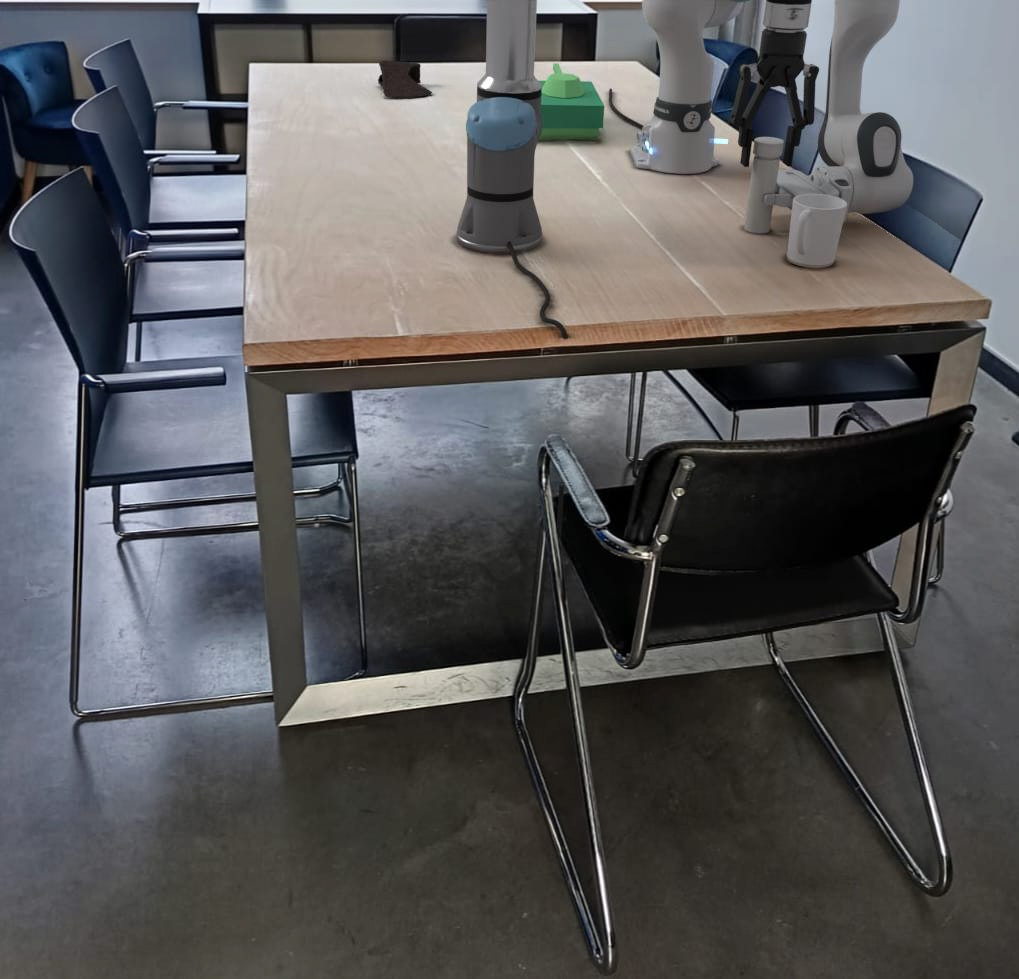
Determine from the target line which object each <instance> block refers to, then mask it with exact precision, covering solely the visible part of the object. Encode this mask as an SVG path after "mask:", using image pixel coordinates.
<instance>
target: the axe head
mask: <svg viewBox="0 0 1019 979" xmlns="http://www.w3.org/2000/svg"><path fill="white" fill-rule="evenodd" d="M378 66H379V68H380V72H381V74H379V75H378V79H377V84H378V85H379V86H380V87H381V88H382V89H383V95H384V96H385V97H388V98H394V99H395V98H396V99H403V98H405V99H406V98H407V99H411V98H418V97H425V96H429V95H432V94H433V91H431V90H430V89H428V88H427V87H425V86H422V85H421V84H422V82H421V63H419V62H410V61H408V62H407V61H397V60H388V59H387V60H380V61H379V62H378Z"/></svg>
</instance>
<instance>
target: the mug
mask: <svg viewBox="0 0 1019 979" xmlns="http://www.w3.org/2000/svg"><path fill="white" fill-rule="evenodd" d="M846 208H847V202H846V201H845V200H843V199H841V198H838V197H835V196H830V195H824V194H802V195H798V196H795V197H794V198H793V204H792V210H791V215H790V224H789V231H788V233H789V234H788V242H787V251H786V258H787V261H788V262H790V263H791V264H793V265H796V266H799V267H803V268H810V269H823V268H828V267H830V266H832V265H833V264H834V263H835V259H836V254H837V250H838V246H839V243H840V238H841V233H842V228H843V225H844V222H845V221H844V216H845V212H846ZM843 221H844V222H843Z"/></svg>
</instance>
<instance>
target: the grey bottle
mask: <svg viewBox="0 0 1019 979" xmlns="http://www.w3.org/2000/svg"><path fill="white" fill-rule="evenodd" d="M752 160H753V161H752V166H751V167H752V168H751V173H750V174H751V176H750V181H749V187H750V188H749V187H748V196H747V204H746V210H745V218H744V227H743V230H745V231H746V232H749V233H753V234H767V233H769V232H770V230H771V223H772V217H773V211H774V205H765V204H764V203H763V202H762V199H763V194H765V193H773V194H775V190H776V183H777V176H778V170H779V169H780V162H781V156H779V157H762V156H758V155H755V154H753V159H752Z"/></svg>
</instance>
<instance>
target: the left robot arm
mask: <svg viewBox="0 0 1019 979" xmlns="http://www.w3.org/2000/svg"><path fill="white" fill-rule="evenodd" d="M730 1H732V2H738V3H740V2H744V3H746V2H749V1H750V0H730ZM486 2H487V3H486V40H485V41H486V42H485V46H486V47H485V73H484V75H483V77H482V78H480V79H479V80H478V82H477V83H476V102H475V103H473V104H472V105H471V106H470V107H469V109H468V111H467V117H466V118H467V119H466V122H465V131H466V192H467V193H466V198H465V202H464V205H463V209H462V211H461V214H460V218H459V220H458V224H457V228H456V241H457V243H458V244H459V245H461V246H462V247H464V248H466V249H468V250H470V251H475V252H479V253H486V254H497V255H499V254H500V255H506V254H507V255H508V254H510V256H511V258H512V261H513V263H514V265H515V266H516V268H517V270H519V271H520V272H521V273H523V274H524V275H526V276H527V277H529V278H531V280H532V281H534V282H535V283H536V285H538V287H539V288H540V290H541V291H542V293H543V295H544V302H543V303H542V306H541V307H540V309H539V317H540V320H541V321H542V322H543V323H546V324H549V325H552V326H555V327H557V329H558V330H559V331H560V333H561V337H562V339H563V340H568V339H569V335H568V333H567V330H566V328H565V327H564V325H563V324H562V323H561V322H560V321H558V320H556V319H555V318H551V317H547V316H546V311H547V308H548V307H549V305H550V303H551V295H550V292H549V289H548V288H547V286H546V285H545V283H543V281H542V280H541V279H540V278H539V277H538V276H537V275H536V274H535V273H534V272H532V271H530V270H529V269H527V268H526V267H525V266H523V265H522V264H521V262H520V261H519V259H518V255H517V253H524V252H527V251H530V250H533V249H536V248H538V247H539V246H540V245H541V244H542V243H543V229H542V224H541V221H540V220H541V219H540V218H539V214H538V213H539V212H538V210H537V206H536V204H535V199H534V183H535V181H534V180H535V158H536V156H535V155H536V149H537V145H538V143H539V140H540V139H539V138H540V135H541V131H542V116H541V96H542V85H541V83H540V82H539V81H540V80H538V78H536V76H535V57H536V56H535V55H536V33H537V32H536V31H537V11H538V10H537V7H538V0H486ZM812 2H813V0H766V1H765V7H764V12H763V21H762V25H763V26H764V27H765V28H764V29H763V30H762V31H761V36H760V45H759V54H758V57H757V59H756V61H755V63H750V64H745V63H741V64H740V65H739V81H738V86H737V89H736V94H735V98H734V102H733V104H732V106H733V107H732V110H731V114H730V116H729V117H730V118H729V121H730V122H731V123H732V124H733V125H734V126H737V127H738V128H739V131H738V137H737V138H738V139H737V144H738V146H739V147H740V148H741V154H740V162H739V163H740V164H741V165H742V166H743V167H744V168H749V167H750V160H751V153H752V147H753V146H752V145H753V140H754V139H753V138H754V130H755V129H753V128H752V127H751V126H752V124H753V121H754V120H755V118H756V115H757V113H758V111H759V109H760V107H761V105H762V103H763V102H764V99H765V98H766V95H767V94H768V93H769V92H770V90H771V88H777V87H782V88H784V90H785V93H786V100H787V103H788V108H789V113H790V117H791V123H792V125H788V126H787V129H786V130H787V131H786V137H785V142H784V149H783V155H782V156H783V157H782V163H783V164H784V165H785V166H786V167H792V166H793V158H794V154H795V147H799V146H800V144H801V139H802V133H803V130H804V129H805V128H806V127H807V126H811V125H813V124H814V123H815V108H816V82H817V79H818V75H819V72H820V67H819V66H817V65H815V64H813V63H805V60H804V54H805V51H806V50H805V49H806V43H807V37H808V33H807V31H806V30H805V29H807V28H808V27H809V22H810V16H811V10H812ZM755 72H757V73H758V75H759V79H758V81H757V82H756V87H755V89H754V91H753V94H752V96H751V98H750V100H749V102H748V104H747V105H746V103H747V99H748V96H749V91H750V87H751V82H752V78H754V76H755ZM801 73H802V76H803V98H802V102H803V103H802V108H801V106H800V105H801V104H800V100H799V95H798V86H797V82H796V79H797V78H798V76H799V75H800V74H801ZM745 107H746V108H745ZM564 493H565V485H561V484H560V485H558V499H557V515H556V516H557V517H556V518H557V519H556V529H557V528H558V533H559V536H560V537H561V538H562V527H563V512H564V496H565V495H564Z"/></svg>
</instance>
